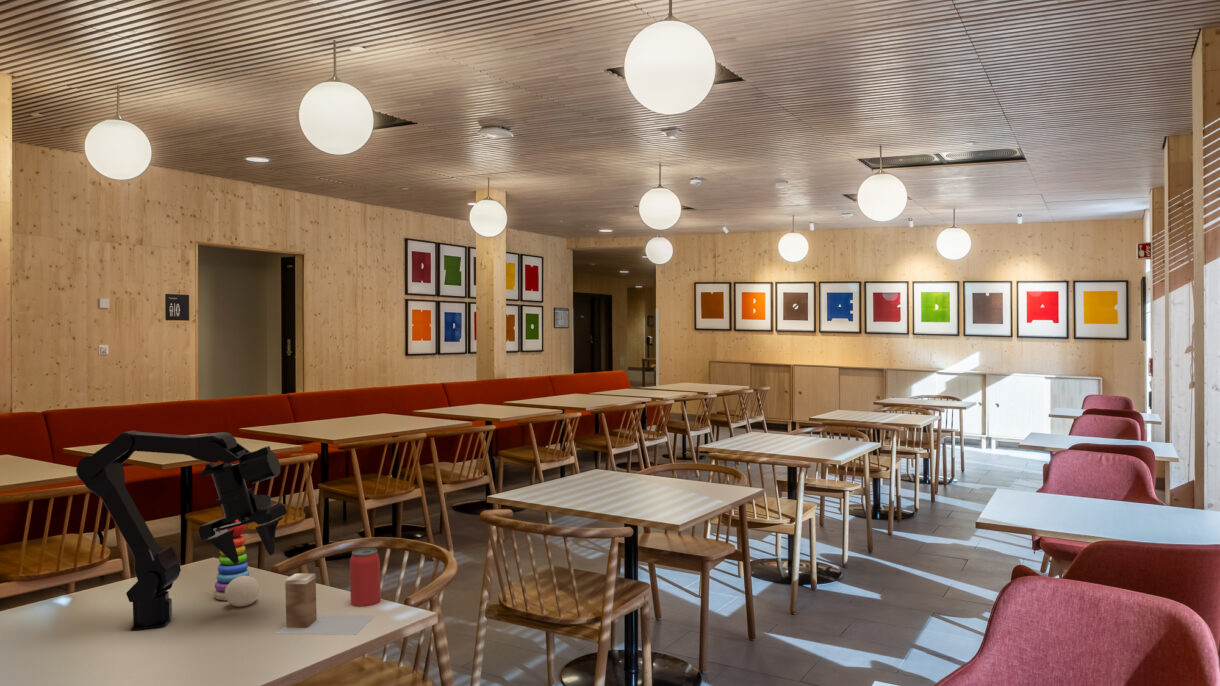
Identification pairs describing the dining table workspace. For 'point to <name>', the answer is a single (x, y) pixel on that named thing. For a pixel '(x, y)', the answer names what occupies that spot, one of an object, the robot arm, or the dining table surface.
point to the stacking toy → (231, 564)
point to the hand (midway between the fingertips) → (254, 558)
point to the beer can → (365, 577)
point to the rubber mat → (332, 625)
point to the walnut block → (300, 600)
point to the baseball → (242, 591)
